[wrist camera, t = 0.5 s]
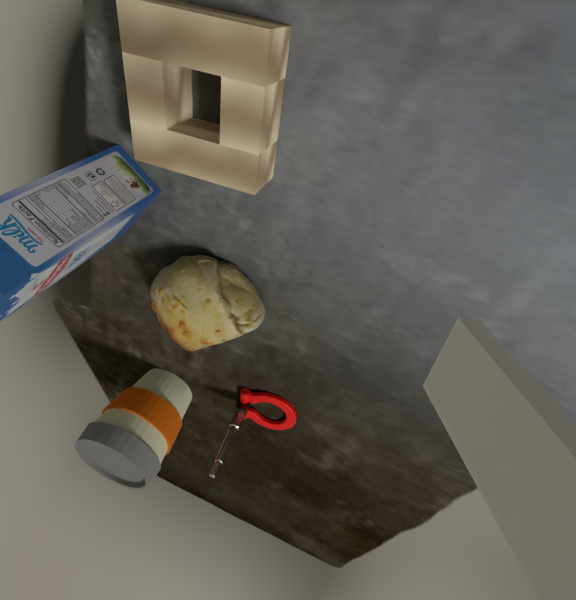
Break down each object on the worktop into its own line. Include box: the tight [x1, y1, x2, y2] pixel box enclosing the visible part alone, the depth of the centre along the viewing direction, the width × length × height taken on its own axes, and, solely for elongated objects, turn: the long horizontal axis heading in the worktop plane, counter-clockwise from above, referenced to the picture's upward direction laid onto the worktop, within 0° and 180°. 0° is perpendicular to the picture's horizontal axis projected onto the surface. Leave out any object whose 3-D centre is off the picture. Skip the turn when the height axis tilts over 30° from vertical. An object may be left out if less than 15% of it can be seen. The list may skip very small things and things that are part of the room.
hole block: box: [116, 0, 292, 195], centre depth 32 cm, size 12×12×4 cm
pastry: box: [150, 254, 265, 351], centre depth 46 cm, size 14×12×8 cm
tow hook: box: [210, 388, 297, 478], centre depth 56 cm, size 8×13×9 cm
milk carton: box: [0, 145, 161, 322], centre depth 37 cm, size 10×6×20 cm, turn 132°
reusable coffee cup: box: [75, 369, 192, 490], centre depth 61 cm, size 13×13×15 cm
